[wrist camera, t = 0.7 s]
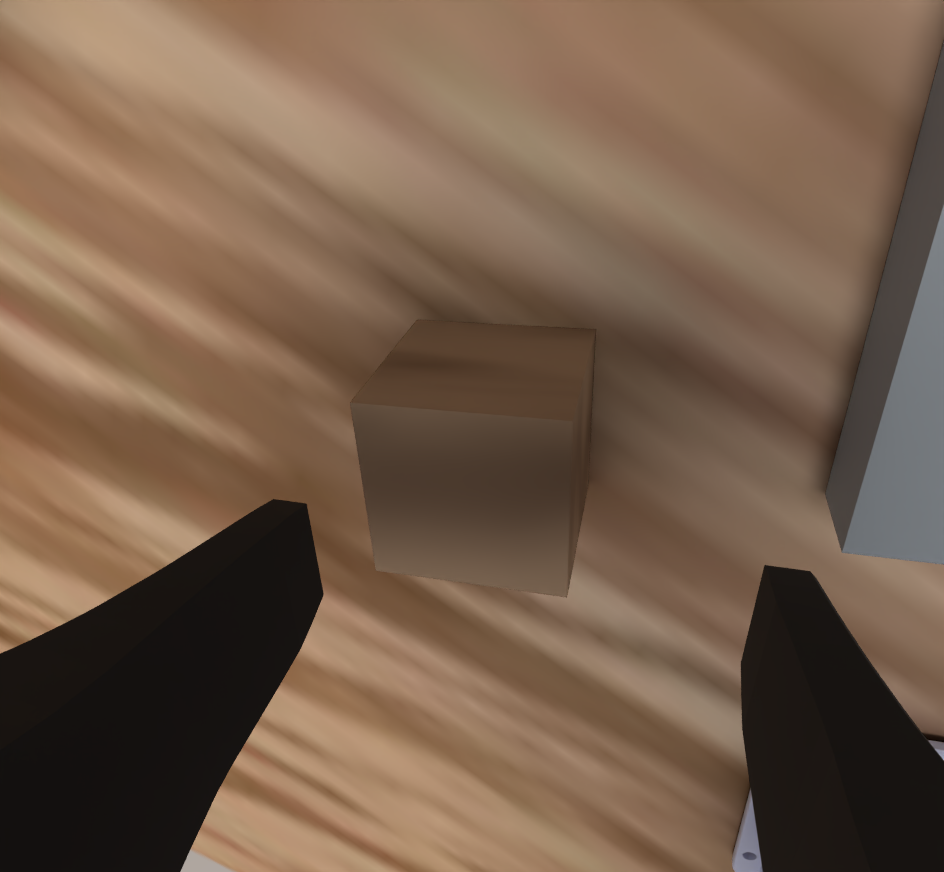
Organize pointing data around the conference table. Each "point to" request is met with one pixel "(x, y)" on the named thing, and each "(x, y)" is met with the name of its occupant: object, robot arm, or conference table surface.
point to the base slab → (901, 380)
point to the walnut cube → (478, 453)
